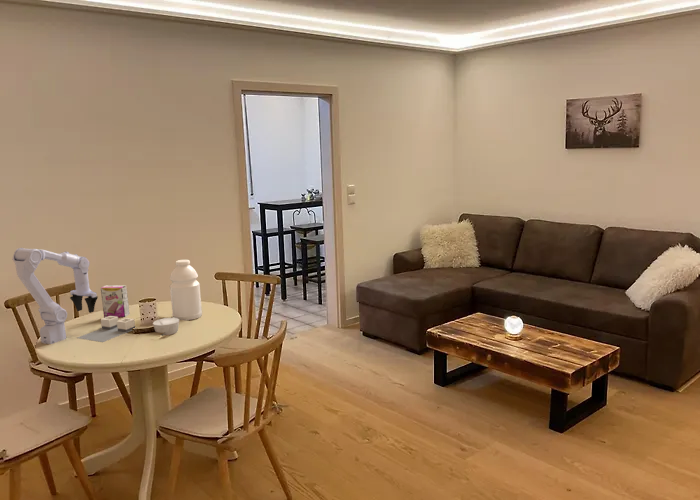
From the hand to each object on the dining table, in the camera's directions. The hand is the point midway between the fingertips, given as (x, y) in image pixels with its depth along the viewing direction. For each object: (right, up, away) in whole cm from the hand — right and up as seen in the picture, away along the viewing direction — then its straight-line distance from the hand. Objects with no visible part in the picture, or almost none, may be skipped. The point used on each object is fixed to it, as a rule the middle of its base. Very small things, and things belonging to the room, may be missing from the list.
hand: (85, 311), depth 260 cm
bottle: (+41, -5, +19) cm, 46 cm away
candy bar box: (+6, -6, +20) cm, 21 cm away
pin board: (+13, -10, -6) cm, 18 cm away
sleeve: (+11, -8, +1) cm, 13 cm away
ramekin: (+39, -9, -4) cm, 40 cm away
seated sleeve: (+20, -8, -3) cm, 22 cm away
